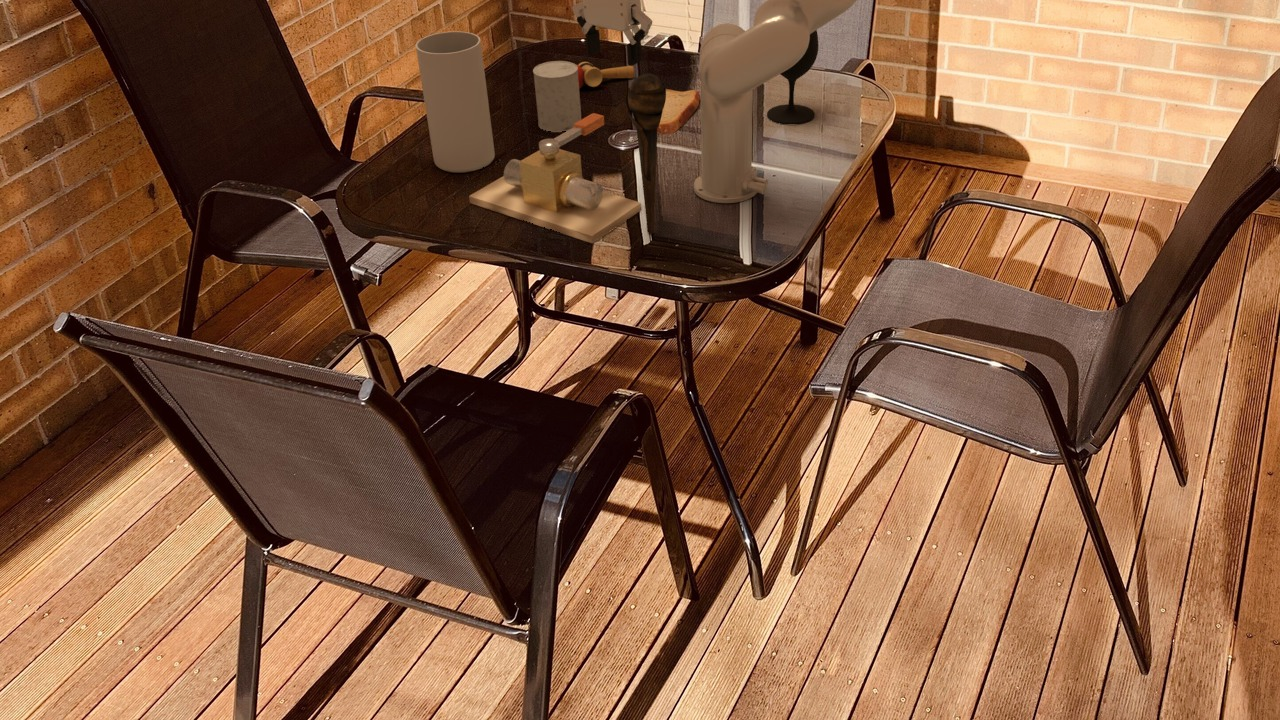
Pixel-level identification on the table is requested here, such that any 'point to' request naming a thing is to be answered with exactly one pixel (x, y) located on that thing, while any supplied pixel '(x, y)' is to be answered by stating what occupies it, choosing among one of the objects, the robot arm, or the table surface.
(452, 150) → the cylinder vase
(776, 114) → the wine glass
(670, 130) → the bread slice
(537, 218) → the mounting board
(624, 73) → the kendama
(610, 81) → the table surface
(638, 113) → the decorative torch
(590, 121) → the valve lever
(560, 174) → the valve body
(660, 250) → the table surface
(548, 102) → the grey stone cylinder
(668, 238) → the table surface
